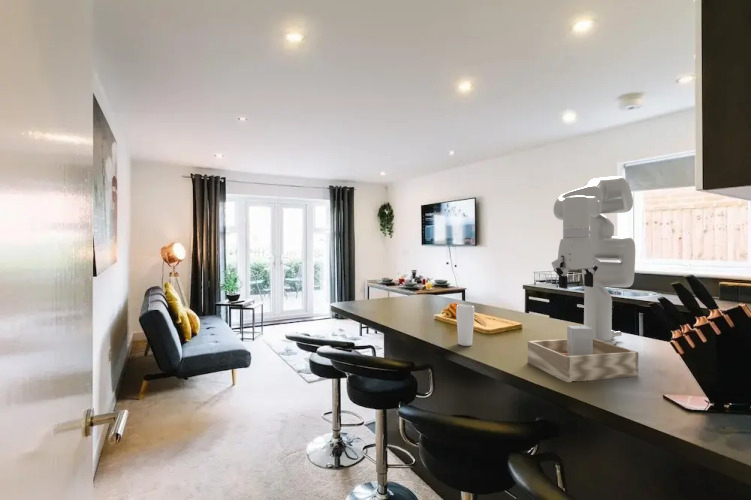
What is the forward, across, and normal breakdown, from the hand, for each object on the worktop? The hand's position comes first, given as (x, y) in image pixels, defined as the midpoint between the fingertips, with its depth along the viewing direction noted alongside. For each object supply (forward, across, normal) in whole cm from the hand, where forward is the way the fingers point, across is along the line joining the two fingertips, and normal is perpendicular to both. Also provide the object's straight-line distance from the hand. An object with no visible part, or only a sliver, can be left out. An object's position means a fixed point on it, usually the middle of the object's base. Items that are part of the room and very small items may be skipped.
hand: (575, 287), depth 123 cm
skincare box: (+24, +4, +6) cm, 25 cm away
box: (+24, +4, +6) cm, 26 cm away
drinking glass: (+25, +26, -28) cm, 45 cm away
